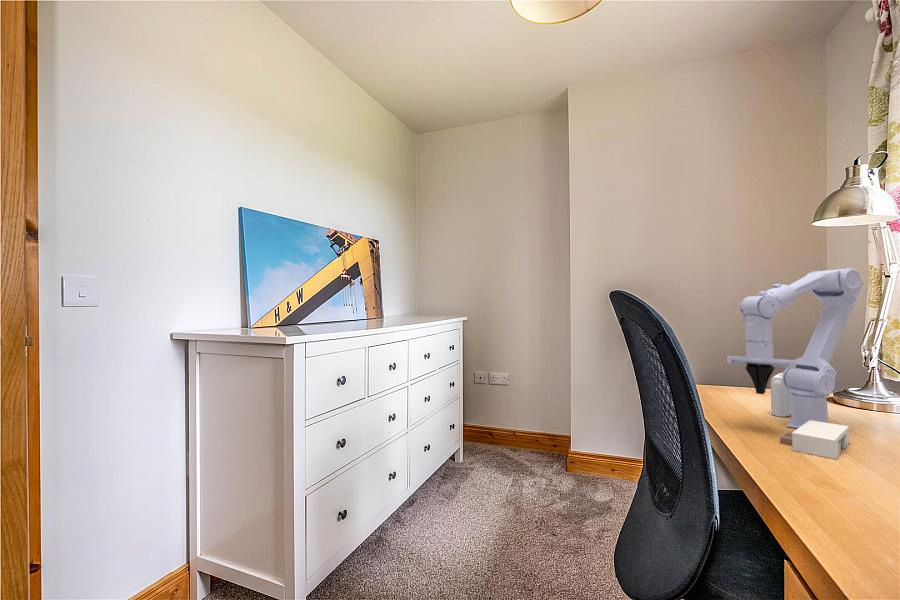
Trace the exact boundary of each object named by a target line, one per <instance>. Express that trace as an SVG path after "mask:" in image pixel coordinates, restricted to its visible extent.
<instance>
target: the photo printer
mask: <svg viewBox="0 0 900 600" xmlns="http://www.w3.org/2000/svg"><path fill="white" fill-rule="evenodd" d="M782 375H783V372H780V373H777V374H775V375H774V376H773V377H772V378H771V380H770V406H771V407H770V411H771V414H772V415H773V416H774V415H775V417H781V418H784V417H789V416H791V392H788V388H786V387H785V386H784V384H783V381H782Z"/></svg>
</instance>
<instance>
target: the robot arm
mask: <svg viewBox="0 0 900 600" xmlns="http://www.w3.org/2000/svg"><path fill="white" fill-rule="evenodd" d="M863 285H864V282H863V279H862V276H861V273H860V272H859V271H858V270H857V269H856V268H853V267H847V268H846V267H845V268H837V269H829V270H826V269H825V270H813V271H812V272H809V273H806V275H805V276H803V277H801V278H799V279H798V280H796V281H794V282H792V283H791V284H782V283H774V284H773V285H772V287H771V288H769V289H767V290H761V291H759V292H758V294H757V295H754V296H753V295H752V296H751V295H750V296H747V297H744V299H743V300H742V301H740V305H739V306H738V310H739V313H740V314H741V316H742V320H743V321H742V322H744V324H745V350H746V351H745V353H746V354H745V356H744V355H743V356H741V355H727V356H726V363H727V364H734V365H735V364H738V365H746V366H745V370H746V372H747V373H748V375H749V376H750V378H751V381H752V383H753V386H754V389H755V393H756V394H759V395H764V394H766V389H767V386H768V382H769V379H770V378H771V376H772V375H773V372H774V370H775V369H776V368H783V369H785V370H784V371H783V372H782V373H783V375H782V381H783V384H784V386H785V387H786V388H788V392H791V415H790V416H791V421H790V422H789V423H787V424H786V427H789V428H794V429H798V428H799V427H801V426H802V425H804V424H805V423H806V422H808V421H809V420H812V421H819V422H825V423H829V413H828V410H829V409H828V408H829V407H828V401H827V397H829V396H830V395H831V394H832V392H833V391H834V389H835V387H836V377H837V374H838V373H837V371H836V369H834V367H833V366H832V365H831V364H830V362H831V359H832V357H833V354H834V353H835V350H836V348H837V346H838V344H839V341H840V339H841V337H842V334H843V332H844V330H845V327H846V326H847V323H848V320H849V319H850V316H851V314H852V312H853V309H854V305H855V302H856V301H857V299H858V296H859V294H860V293H861V292H860V291H861V290H862V287H863ZM809 292H812V294H813V295H814V297H815V298H816V299H817V301H818V303H821V304H823V305H824V309H823V311H822V313H821V316H820V317H819V320H818V322H817V324H816V326H815V329H814V331H813V334H812V336H811V338H810V339H809V342H808V344H807V347H806V349H805V351H804V352H803V355H802V356H801V357H800V356H799V357H798V358H796V359H792V360H791V359H784V358H783V359H782V358H774V337H773V336H774V335H773V331H774V330H773V318H775V317H776V316H777V314H778V312H779V311H780V310H782V309H784V308H786V307H788V306H790V305H792V304H794V303H795V302H796V301H797V298H798V297H800V296H801V295H804V294H806V293H809Z"/></svg>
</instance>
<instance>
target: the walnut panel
mask: <svg viewBox="0 0 900 600" xmlns="http://www.w3.org/2000/svg"><path fill="white" fill-rule="evenodd" d="M792 432H793V431H787V432H786V433H784V434H782V435H781V436H780V437H779V441H780V442H779V443H780V444H781V445H786V446H791V447H792Z"/></svg>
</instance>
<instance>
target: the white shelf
mask: <svg viewBox="0 0 900 600" xmlns="http://www.w3.org/2000/svg"><path fill="white" fill-rule="evenodd" d="M791 432H792V446H791V447H792V451H793V452H797V451H798V453H803V454H808V455H812V454H813V456H817V457H822V458H826V457H827V459H831V460H837V458H838V457H839V456H840V454H841V453H842V449H844V450H845V449H846V447H848V445H849V444H850V441H851V440H850V426H849V425H843V424H836V423H832V422H831V423H830V422H828V423H825V422H819V421H812V420H809V421H808V422H806V423H805V424H804V425H802V426H801V427H799V428H796V429H795V430H794V431H791Z"/></svg>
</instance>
